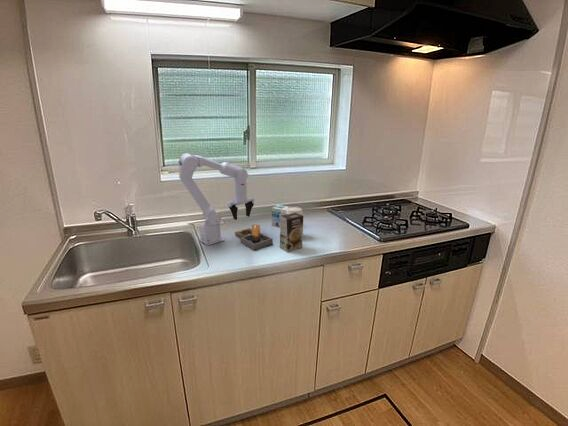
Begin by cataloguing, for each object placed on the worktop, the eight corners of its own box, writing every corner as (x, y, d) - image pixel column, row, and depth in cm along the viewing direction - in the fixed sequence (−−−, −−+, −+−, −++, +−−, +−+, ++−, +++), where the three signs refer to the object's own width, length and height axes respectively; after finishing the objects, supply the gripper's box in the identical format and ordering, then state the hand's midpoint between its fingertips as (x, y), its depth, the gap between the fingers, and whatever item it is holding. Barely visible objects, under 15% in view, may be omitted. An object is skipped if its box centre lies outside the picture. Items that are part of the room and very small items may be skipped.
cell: (255, 245, 150) (254, 226, 147) (250, 242, 153) (249, 224, 150) (262, 242, 153) (261, 225, 150) (257, 240, 156) (256, 222, 153)
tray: (253, 250, 146) (253, 244, 145) (240, 243, 154) (240, 237, 153) (272, 244, 153) (272, 238, 152) (259, 237, 160) (258, 232, 160)
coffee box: (287, 252, 144) (288, 219, 139) (279, 247, 149) (279, 215, 144) (302, 247, 149) (304, 215, 144) (294, 243, 154) (295, 211, 149)
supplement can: (292, 232, 167) (293, 205, 163) (305, 236, 162) (306, 208, 158) (282, 237, 161) (283, 209, 157) (295, 241, 156) (296, 212, 152)
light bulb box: (271, 225, 177) (271, 207, 173) (277, 222, 182) (277, 204, 179) (288, 229, 172) (288, 210, 169) (293, 225, 178) (294, 207, 174)
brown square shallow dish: (244, 240, 156) (244, 236, 156) (235, 235, 163) (235, 231, 162) (259, 236, 162) (259, 232, 161) (249, 231, 168) (249, 227, 167)
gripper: (232, 195, 149) (233, 222, 153) (257, 191, 158) (257, 216, 162) (224, 192, 154) (226, 219, 158) (249, 188, 163) (250, 213, 167)
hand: (241, 217), depth 161 cm, fingers open, 7 cm apart
